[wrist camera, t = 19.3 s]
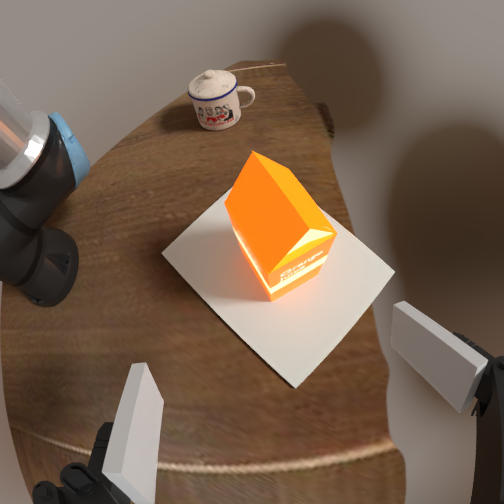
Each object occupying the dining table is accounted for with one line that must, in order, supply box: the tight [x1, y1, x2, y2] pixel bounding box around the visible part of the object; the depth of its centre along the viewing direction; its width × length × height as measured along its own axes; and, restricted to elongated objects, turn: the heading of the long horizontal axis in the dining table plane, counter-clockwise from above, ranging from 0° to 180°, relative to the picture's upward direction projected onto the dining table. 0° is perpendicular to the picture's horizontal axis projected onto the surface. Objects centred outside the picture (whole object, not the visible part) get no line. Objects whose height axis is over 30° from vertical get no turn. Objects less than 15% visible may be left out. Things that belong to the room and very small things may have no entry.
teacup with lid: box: [188, 70, 255, 130], centre depth 47 cm, size 12×9×12 cm
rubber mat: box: [162, 187, 395, 388], centre depth 41 cm, size 28×22×1 cm
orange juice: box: [224, 151, 337, 302], centre depth 31 cm, size 8×9×20 cm
